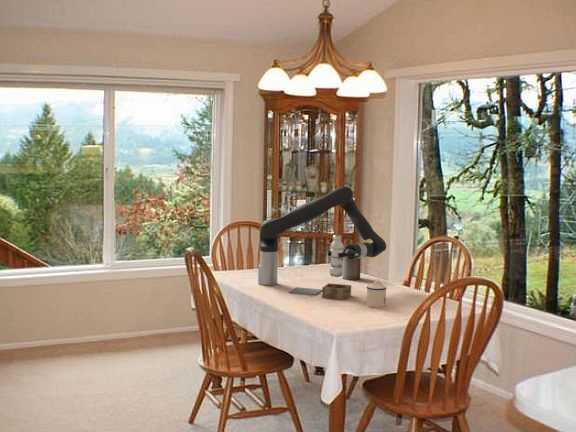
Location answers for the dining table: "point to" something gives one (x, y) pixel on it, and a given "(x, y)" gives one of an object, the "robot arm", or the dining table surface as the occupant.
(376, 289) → the teacup with lid
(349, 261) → the pillar candle
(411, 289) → the dining table surface
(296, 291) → the rubber mat
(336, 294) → the walnut sleeve
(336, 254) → the silver aluminum bottle
